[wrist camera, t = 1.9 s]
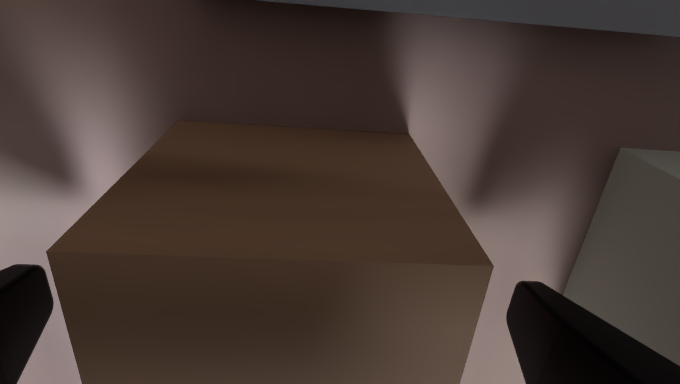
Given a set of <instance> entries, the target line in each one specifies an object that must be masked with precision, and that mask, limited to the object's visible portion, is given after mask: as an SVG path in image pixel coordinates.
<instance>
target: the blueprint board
mask: <svg viewBox="0 0 680 384" xmlns="http://www.w3.org/2000/svg"><path fill="white" fill-rule="evenodd" d="M258 1H270V2H281V3H293V4H304V5H316V6H328V7H339V8H351V9H362V10H374V11H385V12H397V13H409V14H420V15H432V16H443V17H455V18H466V19H478V20H490V21H501V22H513V23H524V24H536V25H547V26H559V27H570V28H582V29H594V30H605V31H617V32H628V33H640V34H651V35H663V36H675V37H680V0H258Z"/></svg>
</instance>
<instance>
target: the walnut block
mask: <svg viewBox="0 0 680 384" xmlns="http://www.w3.org/2000/svg"><path fill="white" fill-rule="evenodd" d="M46 253H47V256H48V260H49V264H50V267H51V271H52V275H53V278H54V282H55V286H56V289H57V293H58V297H59V300H60V304H61V308H62V311H63V315H64V319H65V322H66V326H67V330H68V333H69V337H70V341H71V344H72V348H73V352H74V356H75V359H76V363H77V367H78V370H79V374H80V378H81V381H82V384H460V381H461V377H462V374H463V370H464V367H465V363H466V360H467V356H468V353H469V349H470V346H471V343H472V339H473V336H474V332H475V329H476V325H477V322H478V318H479V315H480V311H481V308H482V305H483V301H484V298H485V294H486V291H487V287H488V284H489V280H490V277H491V273H492V270H493V267H494V266H493V264H492V263H491V261H490V260H489V258H488V257H487V255H486V253H485V252H484V250H483V249H482V247H481V246H480V244H479V242H478V241H477V239H476V238H475V236H474V235H473V233H472V231H471V230H470V228H469V227H468V225H467V224H466V222H465V221H464V219H463V217H462V216H461V214H460V213H459V211H458V210H457V208H456V206H455V205H454V203H453V202H452V200H451V199H450V197H449V196H448V194H447V192H446V191H445V189H444V188H443V186H442V185H441V183H440V181H439V180H438V178H437V177H436V175H435V174H434V172H433V171H432V169H431V167H430V166H429V164H428V163H427V161H426V160H425V158H424V156H423V155H422V153H421V152H420V150H419V149H418V147H417V145H416V144H415V142H414V141H413V139H412V138H411V136H410V135H409V134H399V133H383V132H366V131H349V130H332V129H315V128H298V127H282V126H265V125H248V124H231V123H214V122H198V121H181V120H179V121H178V122H177V123H176V124H175V125H174V126H173V127H172V128H171V129H169V130H168V131H167V132H166V133H165V134H164V135H163V136H162V137H161V138H160V139H159V140H158V141H157V142H156V143H155V144H154V145H153V146H152V147H151V148H150V149H149V150H148V151H147V152H146V153H145V154H144V155H143V156H142V157H141V158H140V159H139V160H138V161H137V162H136V163H135V164H134V165H133V166H132V167H131V168H130V169H129V170H128V171H127V172H126V173H125V174H124V175H123V176H122V177H121V178H120V179H119V180H118V181H117V182H116V183H115V184H114V185H113V186H112V187H111V188H110V189H109V190H108V191H107V192H106V193H105V194H104V195H103V196H102V197H101V198H100V199H99V200H98V201H97V202H96V203H95V204H94V205H93V206H92V207H91V208H90V209H89V210H88V211H87V212H86V213H85V214H84V215H83V216H82V217H81V218H80V219H79V220H78V221H77V222H76V223H75V224H74V225H73V226H72V227H71V228H70V229H68V230H67V231H66V232H65V233H64V234H63V235H62V236H61V237H60V238H59V239H58V240H57V241H56V242H55V243H54V244H53V245H52V246H51V247H50V248H49V249H48V250H47V251H46Z"/></svg>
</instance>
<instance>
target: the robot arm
mask: <svg viewBox="0 0 680 384" xmlns="http://www.w3.org/2000/svg"><path fill="white" fill-rule="evenodd" d="M52 310H53V297H52V294H51V290H50V286H49V283H48V279H47V276H46V272H45V270H44V269H43V267H41V266H39V265H30V264H16V265H12V266H10V267H8V268H5V269H3V270H1V271H0V384H17V382H18V380H19V378H20V376H21V374H22V372H23V370H24V368H25V366H26V364H27V362H28V360H29V358H30V356H31V354H32V352H33V350H34V348H35V346H36V344H37V342H38V340H39V338H40V336H41V334H42V332H43V329H44V327H45V325H46V323H47V321H48V319H49V317H50V315H51V313H52ZM506 318H507V325H508V329H509V332H510V335H511V338H512V341H513V344H514V348H515V351H516V354H517V357H518V360H519V363H520V366H521V370H522V373H523V376H524V379H525V382H526V384H680V366H679V365H677V364H676V363H674V362H672V361H671V360H669V359H667V358H666V357H664V356H662V355H661V354H659V353H657V352H656V351H654V350H652V349H651V348H649V347H648V346H646V345H644V344H643V343H641V342H639V341H638V340H636V339H634V338H633V337H631V336H629V335H628V334H626V333H624V332H623V331H621V330H619V329H618V328H616V327H614V326H613V325H611V324H609V323H608V322H606V321H604V320H603V319H601V318H600V317H598V316H596V315H595V314H593V313H591V312H590V311H588V310H586V309H585V308H583V307H581V306H580V305H578V304H576V303H575V302H573V301H571V300H570V299H568V298H566V297H565V296H563V295H561V294H560V293H558V292H556V291H555V290H553V289H551V288H550V287H548V286H547V285H545V284H543V283H541V282H538V281H520V282H518V283H517V285H516V287H515V289H514V292H513V295H512V298H511V301H510V304H509V307H508V310H507V316H506Z"/></svg>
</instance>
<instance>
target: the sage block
mask: <svg viewBox="0 0 680 384" xmlns="http://www.w3.org/2000/svg"><path fill="white" fill-rule="evenodd" d="M563 296H565V297H566V298H568V299H570V300H571V301H573V302H575V303H576V304H578V305H580V306H581V307H583V308H585V309H586V310H588V311H590V312H591V313H593V314H595V315H596V316H598V317H600V318H601V319H603V320H604V321H606V322H608V323H609V324H611V325H613V326H614V327H616V328H618V329H619V330H621V331H623V332H624V333H626V334H628V335H629V336H631V337H633V338H634V339H636V340H638V341H639V342H641V343H643V344H644V345H646V346H648V347H649V348H651V349H652V350H654V351H656V352H657V353H659V354H661V355H662V356H664V357H666V358H667V359H669V360H671V361H672V362H674V363H676V364H677V365H679V366H680V151H666V150H650V149H634V148H620V150H619V153H618V155H617V158H616V160H615V163H614V165H613V168H612V170H611V173H610V176H609V178H608V181H607V183H606V186H605V188H604V191H603V193H602V196H601V198H600V201H599V203H598V206H597V208H596V211H595V214H594V216H593V219H592V221H591V224H590V226H589V229H588V231H587V234H586V236H585V239H584V241H583V244H582V246H581V249H580V252H579V254H578V257H577V259H576V262H575V264H574V267H573V269H572V272H571V274H570V277H569V279H568V282H567V284H566V287H565V290H564V292H563Z"/></svg>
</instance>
